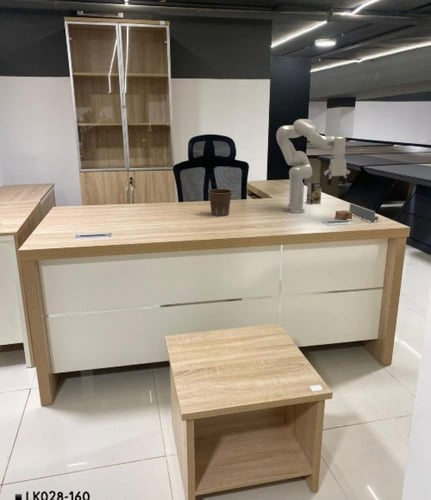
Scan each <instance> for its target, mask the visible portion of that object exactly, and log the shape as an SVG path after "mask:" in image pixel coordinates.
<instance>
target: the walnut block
mask: <svg viewBox="0 0 431 500" xmlns="http://www.w3.org/2000/svg"><path fill="white" fill-rule="evenodd" d="M334 217H335V218H334V219H336V218H337V219H336V220H338V219H339V220H338V221H340V220H346V221H348V220H347V219H352V220H353V215H352V212H349V210H336V211H335V215H334Z"/></svg>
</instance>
